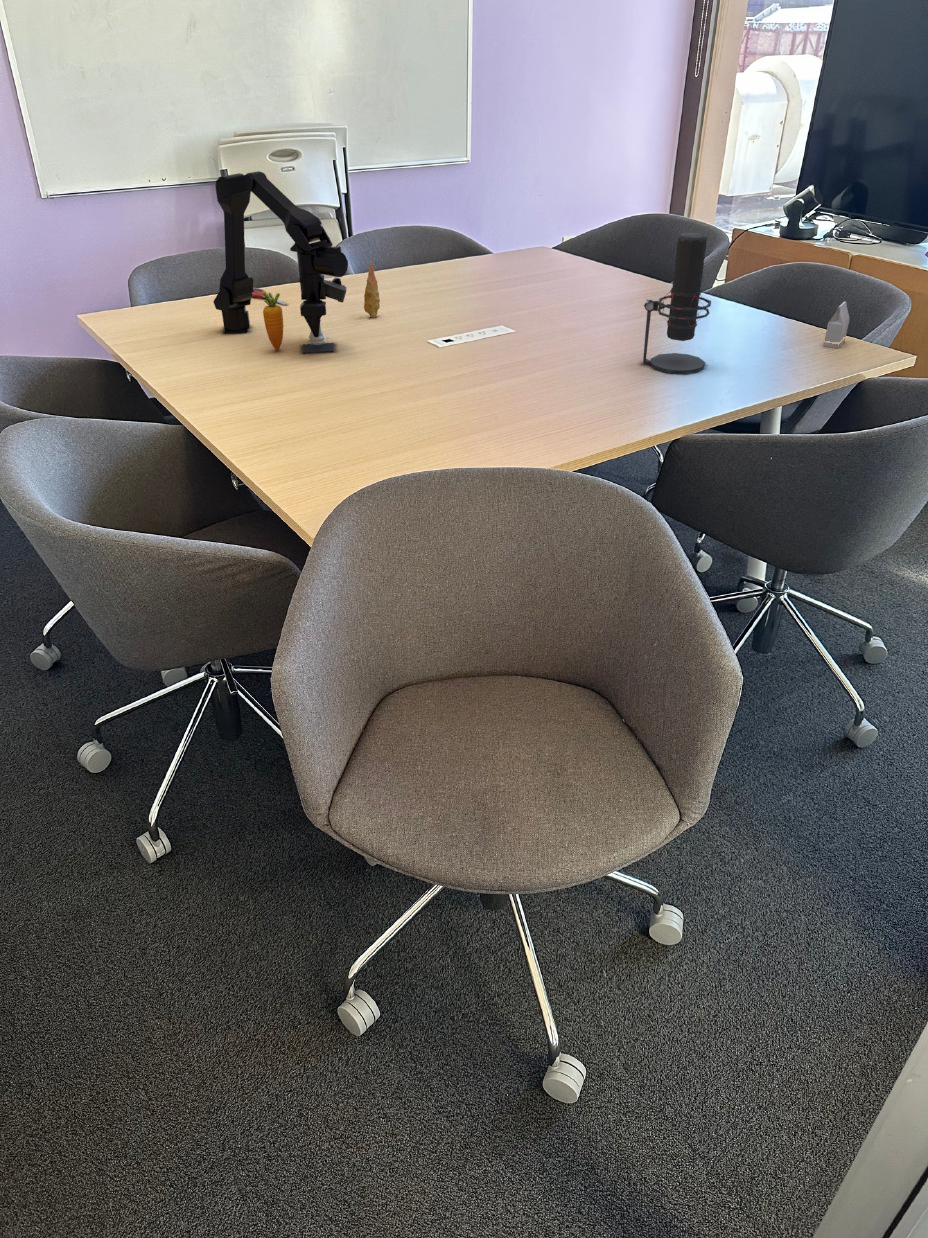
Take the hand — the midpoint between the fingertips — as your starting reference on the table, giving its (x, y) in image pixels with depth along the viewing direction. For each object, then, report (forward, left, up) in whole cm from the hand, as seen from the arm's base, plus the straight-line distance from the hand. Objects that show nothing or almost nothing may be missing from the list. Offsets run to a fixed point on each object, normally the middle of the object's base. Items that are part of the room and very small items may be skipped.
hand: (316, 334), depth 232 cm
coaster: (0, 0, -4) cm, 4 cm away
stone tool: (+16, +27, -4) cm, 31 cm away
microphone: (+87, -28, -4) cm, 91 cm away
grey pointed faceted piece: (+133, -18, -4) cm, 134 cm away
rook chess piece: (0, 0, -2) cm, 2 cm away
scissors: (-15, +54, -4) cm, 56 cm away
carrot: (-10, 0, -4) cm, 11 cm away
